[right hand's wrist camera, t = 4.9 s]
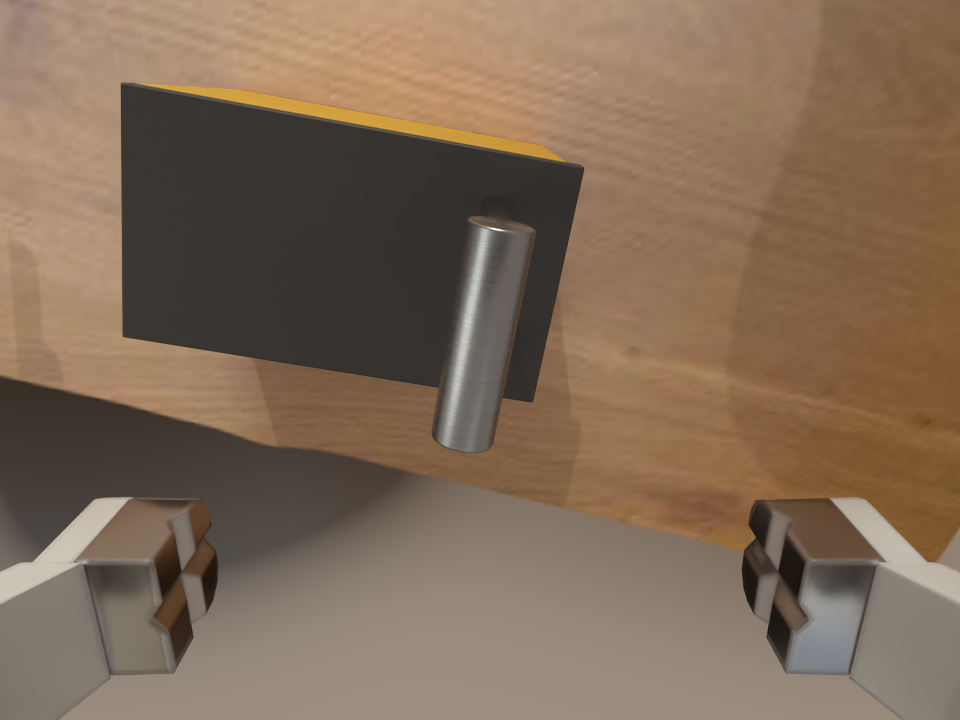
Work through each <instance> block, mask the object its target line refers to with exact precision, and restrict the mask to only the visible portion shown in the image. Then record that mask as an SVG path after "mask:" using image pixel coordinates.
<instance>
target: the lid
mask: <svg viewBox="0 0 960 720" xmlns="http://www.w3.org/2000/svg"><path fill="white" fill-rule="evenodd" d="M121 172H122V312H123V337H126V338H133V339H139V340H145V341H151V342H158V343H164V344H170V345H176V346H183V347H189V348H195V349H201V350H208V351H214V352H220V353H226V354H233V355H239V356H245V357H251V358H258V359H264V360H270V361H276V362H283V363H289V364H295V365H301V366H308V367H314V368H320V369H326V370H333V371H339V372H345V373H351V374H358V375H364V376H370V377H376V378H383V379H389V380H395V381H401V382H407V383H414V384H420V385H426V386H432V387H439V390H438V396H437V402H436V408H435V414H434V420H433V426H432V436H433V438H434V440H435V441H436V442H437V443H438V444H440V445H442V446H443V447H445V448H448V449H450V450H453V451H457V452H463V453H478V452H483V451H486V450H488V449H489V448H490V447H491V446H492V445H493V442H494V437H495V432H496V427H497V422H498V417H499V413H500V408H501V403H502V398H507V399H514V400H520V401H526V402H533V399H534V395H535V390H536V386H537V381H538V376H539V372H540V367H541V363H542V358H543V354H544V349H545V345H546V340H547V336H548V331H549V327H550V322H551V318H552V313H553V308H554V304H555V299H556V295H557V290H558V286H559V281H560V277H561V272H562V268H563V263H564V259H565V254H566V249H567V245H568V240H569V236H570V231H571V227H572V222H573V218H574V213H575V209H576V204H577V200H578V195H579V191H580V186H581V181H582V177H583V172H584V167H583V166H581V165H578V164H573V163H568V162H562V161H557V160H551V159H546V158H540V157H535V156H529V155H524V154H518V153H513V152H507V151H502V150H496V149H491V148H486V147H480V146H475V145H469V144H464V143H458V142H453V141H447V140H442V139H436V138H431V137H425V136H420V135H414V134H409V133H404V132H398V131H393V130H387V129H382V128H376V127H371V126H365V125H360V124H354V123H349V122H343V121H338V120H332V119H327V118H322V117H316V116H311V115H305V114H300V113H294V112H289V111H283V110H278V109H272V108H267V107H261V106H256V105H250V104H245V103H239V102H234V101H229V100H223V99H218V98H212V97H207V96H201V95H196V94H190V93H185V92H179V91H174V90H168V89H163V88H157V87H152V86H147V85H141V84H136V83H121Z"/></svg>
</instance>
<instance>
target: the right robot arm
mask: <svg viewBox="0 0 960 720" xmlns="http://www.w3.org/2000/svg"><path fill="white" fill-rule="evenodd" d="M211 525H212V524H211V519H210V514H209V509H208V505H207V504H206V503H205V502H204V501H203V500H202V499H177V498H132V497H115V498H100V499H95V500H94V501H93V502H92V503H91V504H90V505H89V506H88V507H87V508H86V509H85V510H84V511H83V512H82V513H81V514H80V515H79V516H78V517H77V518H76V519H75V520H74V521H73V522H72V523H71V524H70V525H69V526H68V527H67V528H66V529H65V530H64V531H63V532H62V533H61V534H60V535H59V536H58V537H57V538H56V539H55V540H54V541H53V542H52V543H51V544H50V545H49V546H48V547H47V548H46V549H45V550H44V551H43V552H42V553H41V554H40V555H39V556H38V557H37V558H36V559H35V560H34V561H33V562H31V563H19V564H17V565H15V566H12V567H10V568H8V569H6V570H4V571H1V572H0V720H59V719H60V718H61V717H63V716H64V715H65V714H66V713H68V712H69V711H70V710H72V709H73V708H74V707H75V706H77V705H78V704H79V703H80V702H82V701H83V700H84V699H85V698H87V697H88V696H89V695H90V694H92V693H93V692H94V691H95V690H97V689H98V688H99V687H101V686H102V685H103V684H104V683H106V682H107V681H108V680H109V679H110V675H139V674H173V673H174V672H175V670H176V669H177V667H178V665H179V663H180V661H181V659H182V658H183V656H184V654H185V652H186V650H187V648H188V647H189V645H190V643H191V641H192V639H193V632H192V626H191V624H192V623H194V622H195V621H197V620H198V619H200V618H201V617H203V616H204V615H206V613H207V611H208V609H209V607H210V605H211V603H212V601H213V598H214V594H215V590H216V585H217V581H218V562H217V555H216V550H215V549H214V548H213V547H212V546H211V545H210V544H209V543H208V542H207V541H206V540H205V539H204V536H205V534H206V533H207V531H208V530H209V528H210V527H211ZM748 525H749V527H750V528H751V530H752V531H753V533H754V535H755V536H756V539H755V540H754V541H753V542H752V543H751V544H750V545H749V546H748V547H747V548H746V549H745V550H744V556H743V564H742V577H743V587H744V591H745V595H746V598H747V601H748V603H749V605H750V607H751V609H752V611H753V613H754V615H756V616H757V617H759V618H760V619H762V620H763V621H765V622H766V623H768V624H769V626H768V632H767V639H768V641H769V643H770V645H771V647H772V648H773V650H774V652H775V654H776V656H777V658H778V659H779V661H780V663H781V665H782V667H783V669H784V670H785V672H786V673H787V674H821V675H850V677H849V678H850V679H851V680H852V681H854V682H855V683H856V684H857V685H859V686H860V687H861V688H862V689H864V690H865V691H866V692H867V693H869V694H870V695H871V696H872V697H874V698H875V699H876V700H877V701H879V702H880V703H881V704H882V705H884V706H885V707H886V708H887V709H889V710H890V711H891V712H893V713H894V714H895V715H896V716H898V717H899V718H900V719H901V720H960V572H959V571H956V570H954V569H952V568H950V567H948V566H945V565H943V564H941V563H929V562H927V561H926V560H925V559H924V558H923V557H922V556H921V555H920V554H919V553H918V552H917V551H916V550H915V549H914V548H913V547H912V546H911V545H910V544H909V543H908V542H907V541H906V540H905V539H904V538H903V537H902V536H901V535H900V534H899V533H898V532H897V531H896V530H895V529H894V528H893V527H892V526H891V525H890V524H889V523H888V522H887V521H886V520H885V519H884V518H883V517H882V516H881V515H880V514H879V513H878V512H877V511H876V509H875V508H874V507H873V506H872V505H871V504H870V503H869V502H868V501H867V500H864V499H862V498H859V497H843V498H817V499H778V500H755V502H754V504H753V506H752V509H751V512H750V518H749V524H748Z"/></svg>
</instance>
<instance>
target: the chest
mask: <svg viewBox="0 0 960 720" xmlns="http://www.w3.org/2000/svg"><path fill="white" fill-rule="evenodd" d="M137 84H138V83H137ZM141 85H147V86H152V87H157V88H163V89H168V90H174V91H179V92H185V93H190V94H196V95H201V96H207V97H212V98H218V99H223V100H229V101H234V102H239V103H245V104H250V105H256V106H261V107H267V108H272V109H278V110H283V111H289V112H294V113H300V114H305V115H311V116H316V117H322V118H327V119H332V120H338V121H343V122H349V123H354V124H360V125H365V126H371V127H376V128H382V129H387V130H393V131H398V132H404V133H409V134H414V135H420V136H425V137H431V138H436V139H442V140H447V141H453V142H458V143H464V144H469V145H475V146H480V147H486V148H491V149H496V150H502V151H507V152H513V153H518V154H524V155H529V156H535V157H540V158H546V159H551V160H557V161H562V162H566V161H564V160H563V159H561V158H560V157H558V156H557V155H555V154H553V153H552V152H550V151H549V150H547V149H546V148H545V147H544V146H542V145H537V144H531V143H526V142H520V141H515V140H510V139H504V138H499V137H493V136H488V135H482V134H477V133H471V132H466V131H461V130H455V129H450V128H444V127H439V126H433V125H428V124H423V123H417V122H412V121H406V120H401V119H395V118H390V117H385V116H379V115H374V114H368V113H363V112H357V111H352V110H347V109H341V108H336V107H330V106H325V105H319V104H314V103H308V102H303V101H298V100H292V99H287V98H281V97H276V96H270V95H265V94H260V93H254V92H249V91H243V90H238V89H218V88H202V87H186V86H170V85H154V84H141Z"/></svg>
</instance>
